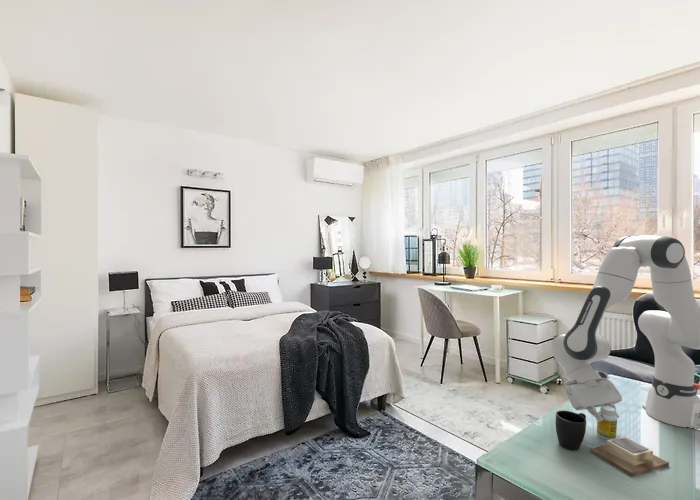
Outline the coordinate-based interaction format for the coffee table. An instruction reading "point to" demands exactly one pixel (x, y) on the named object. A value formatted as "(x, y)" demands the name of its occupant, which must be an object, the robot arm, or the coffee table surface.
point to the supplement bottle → (607, 423)
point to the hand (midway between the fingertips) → (609, 419)
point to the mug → (570, 429)
